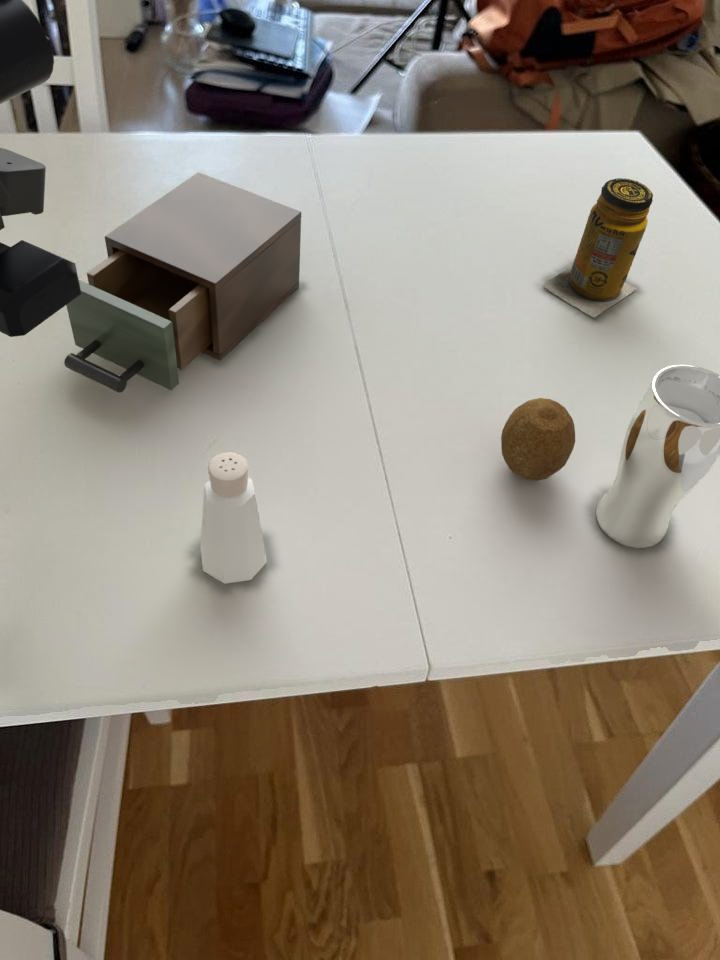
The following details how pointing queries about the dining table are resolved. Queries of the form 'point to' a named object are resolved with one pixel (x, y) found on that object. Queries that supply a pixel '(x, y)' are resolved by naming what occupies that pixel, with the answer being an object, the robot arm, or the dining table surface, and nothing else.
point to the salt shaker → (231, 522)
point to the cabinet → (220, 251)
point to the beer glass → (663, 454)
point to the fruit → (538, 439)
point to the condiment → (606, 248)
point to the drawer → (138, 322)
